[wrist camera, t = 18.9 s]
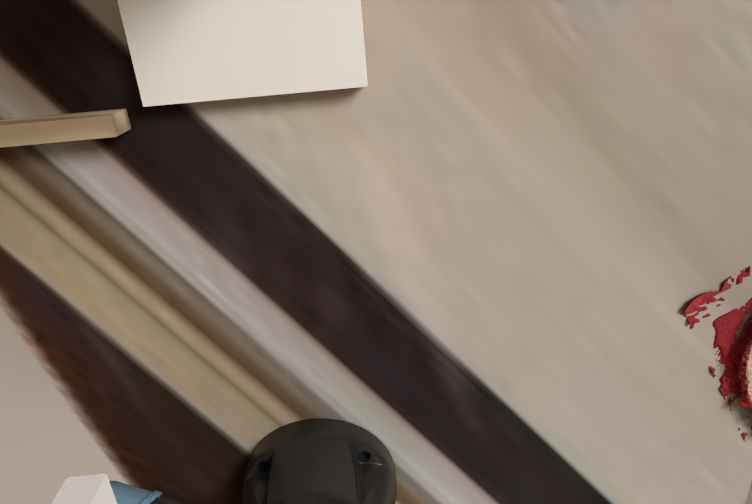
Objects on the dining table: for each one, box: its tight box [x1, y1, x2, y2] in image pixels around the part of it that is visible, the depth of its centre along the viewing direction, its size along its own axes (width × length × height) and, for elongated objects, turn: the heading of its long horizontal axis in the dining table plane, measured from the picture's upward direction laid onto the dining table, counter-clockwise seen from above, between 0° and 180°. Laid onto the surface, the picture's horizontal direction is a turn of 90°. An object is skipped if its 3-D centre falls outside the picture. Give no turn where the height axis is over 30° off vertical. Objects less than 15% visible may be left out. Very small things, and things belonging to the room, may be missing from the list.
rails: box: [0, 109, 131, 148], centre depth 37 cm, size 16×12×3 cm
